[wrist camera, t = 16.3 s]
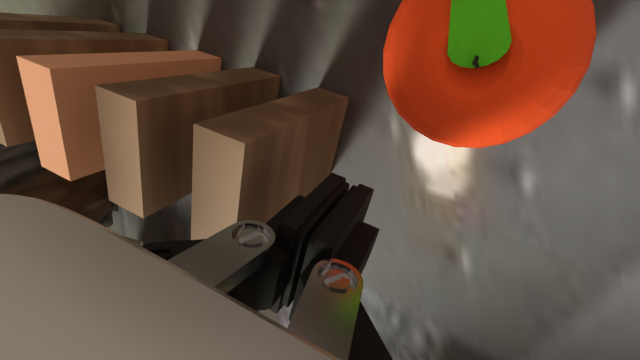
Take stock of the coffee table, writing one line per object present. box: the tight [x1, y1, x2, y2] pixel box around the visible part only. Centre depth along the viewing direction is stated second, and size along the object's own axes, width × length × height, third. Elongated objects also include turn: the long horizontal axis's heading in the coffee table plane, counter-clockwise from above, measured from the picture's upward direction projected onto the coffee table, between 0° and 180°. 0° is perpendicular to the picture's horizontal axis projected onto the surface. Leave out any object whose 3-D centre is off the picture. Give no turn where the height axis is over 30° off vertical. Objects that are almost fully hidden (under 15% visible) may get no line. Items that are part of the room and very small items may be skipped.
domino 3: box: [16, 50, 221, 181], centre depth 18 cm, size 2×5×10 cm, turn 165°
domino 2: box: [0, 29, 168, 147], centre depth 19 cm, size 2×5×10 cm, turn 165°
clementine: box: [383, 0, 596, 148], centre depth 12 cm, size 8×7×7 cm
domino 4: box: [95, 67, 281, 218], centre depth 17 cm, size 2×5×10 cm, turn 165°
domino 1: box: [0, 13, 120, 32], centre depth 20 cm, size 2×5×10 cm, turn 165°
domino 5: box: [191, 87, 350, 240], centre depth 15 cm, size 2×5×10 cm, turn 165°
